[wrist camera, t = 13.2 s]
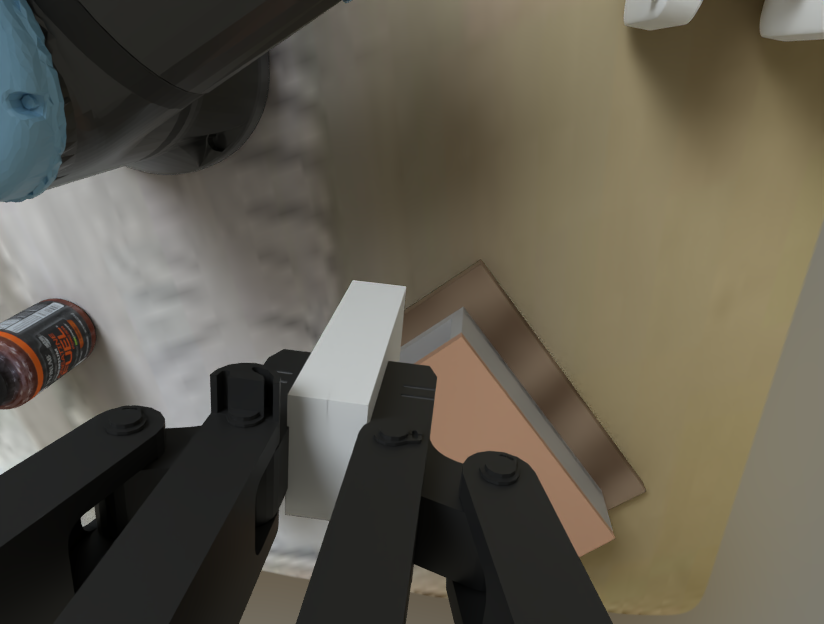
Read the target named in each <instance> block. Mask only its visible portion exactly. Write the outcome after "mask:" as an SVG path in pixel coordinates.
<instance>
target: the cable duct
mask: <svg viewBox="0 0 824 624" xmlns="http://www.w3.org/2000/svg"><path fill="white" fill-rule="evenodd" d="M461 332H462V334H463V335H464V336H465V338H466V339H467V340H468V342H469V343H470V344H471V346H472V347H473V348H474V350H475V351H476V352H477V353H478V355H479V356H480V357H481V359H482V360H483V361H484V363H485V364H486V365H487V367H488V368H489V369H490V371H491V372H492V373H493V374H494V376H495V377H496V378H497V380H498V381H499V382H500V384H501V385H502V386H503V388H504V389H505V390H506V392H507V393H508V394H509V396H510V397H511V398H512V399H513V401H514V402H515V403H516V405H517V406H518V407H519V409H520V410H521V411H522V413H523V414H524V415H525V417H526V418H527V419H528V420H529V422H530V423H531V424H532V426H533V427H534V428H535V430H536V431H537V432H538V434H539V435H540V436H541V438H542V439H543V440H544V441H545V443H546V444H547V445H548V447H549V448H550V449H551V451H552V452H553V453H554V455H555V456H556V457H557V459H558V460H559V461H560V462H561V464H562V465H563V466H564V468H565V469H566V470H567V472H568V473H569V474H570V476H571V477H572V478H573V480H574V481H575V482H576V484H577V485H578V486H579V487H580V489H581V490H582V491H583V493H584V494H585V495H586V497H587V498H588V499H589V501H590V502H591V503H592V505H593V506H594V507H595V508H596V510H597V511H598V512H599V514H600V515H601V516H602V518H603V519H604V520H605V522H606V523H607V524H608V526H609V527H610V528H611V529H612V526H611V522H610V519H609V515H608V511H607V508H606V504H605V501H604V497H603V494H602V490H601V489H600V488H599V486H598V485H597V484H596V482H595V481H594V480H593V478H592V477H591V476H590V474H589V473H588V472H587V470H586V469H585V468H584V466H583V465H582V464H581V462H580V461H579V460H578V458H577V457H576V456H575V454H574V453H573V452H572V450H571V449H570V448H569V446H568V445H567V444H566V442H565V441H564V440H563V438H562V437H561V436H560V434H559V433H558V432H557V430H556V429H555V428H554V426H553V425H552V424H551V422H550V421H549V420H548V419H547V417H546V416H545V415H544V413H543V412H542V411H541V409H540V408H539V407H538V405H537V404H536V403H535V401H534V400H533V399H532V397H531V396H530V395H529V393H528V392H527V391H526V389H525V388H524V387H523V385H522V384H521V383H520V381H519V380H518V379H517V377H516V376H515V375H514V373H513V372H512V371H511V369H510V368H509V367H508V365H507V364H506V363H505V361H504V360H503V359H502V357H501V356H500V355H499V353H498V352H497V351H496V349H495V348H494V347H493V345H492V344H491V343H490V341H489V340H488V339H487V337H486V336H485V335H484V333H483V332H482V331H481V329H480V328H479V327H478V325H477V324H476V323H475V321H474V320H473V319H472V317H471V316H470V315H469V313H468V312H467V311H466V309H465V308H464V307H462V308H460V309H459V310H457V311H456V312H454V313H452V314H451V315H449V316H448V317H446V318H445V319H443V320H442V321H440V322H439V323H437V324H435V325H434V326H432V327H431V328H429V329H428V330H426V331H425V332H423V333H422V334H420V335H418V336H417V337H415V338H414V339H412V340H411V341H409V342H408V343H406V344H405V345H403V346H401V349H400V360H399V362H402V363H410V364H414V363H416V362H417V361H419V360H420V359H422V358H423V357H425V356H426V355H428V354H429V353H431V352H432V351H434V350H435V349H437V348H438V347H440V346H441V345H443V344H444V343H446V342H448V341H449V340H451V339H452V338H454V337H455V336H457V335H458V334H460V333H461ZM612 531H613V529H612Z"/></svg>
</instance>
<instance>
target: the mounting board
mask: <svg viewBox="0 0 824 624" xmlns="http://www.w3.org/2000/svg"><path fill="white" fill-rule="evenodd" d="M462 307H464V308H465V309H466V311H467V312H468V313H469V315H470V316H471V317H472V319H473V320H474V321H475V323H476V324H477V325H478V327H479V328H480V329H481V331H482V332H483V333H484V335H485V336H486V337H487V339H488V340H489V341H490V343H491V344H492V345H493V347H494V348H495V349H496V351H497V352H498V353H499V355H500V356H501V357H502V359H503V360H504V361H505V363H506V364H507V365H508V367H509V368H510V369H511V371H512V372H513V373H514V375H515V376H516V377H517V379H518V380H519V381H520V383H521V384H522V385H523V387H524V388H525V389H526V391H527V392H528V393H529V395H530V396H531V397H532V399H533V400H534V401H535V403H536V404H537V405H538V407H539V408H540V409H541V411H542V412H543V413H544V415H545V416H546V417H547V419H548V420H549V421H550V422H551V424H552V425H553V426H554V428H555V429H556V430H557V432H558V433H559V434H560V436H561V437H562V438H563V440H564V441H565V442H566V444H567V445H568V446H569V448H570V449H571V450H572V452H573V453H574V454H575V456H576V457H577V458H578V460H579V461H580V462H581V464H582V465H583V466H584V468H585V469H586V470H587V472H588V473H589V474H590V476H591V477H592V478H593V480H594V481H595V482H596V484H597V485H598V486H599V488H600V489H601V490H602V494H603V497H604V501H605V504H606V508H607V510H609V509H611V508H613V507H615V506H618V505H620V504H622V503H624V502H626V501H628V500H630V499H632V498H634V497H636V496H638V495H640V494H642V493H644V492H646V489H645V487H644V484H643V482H642V481H641V479H640V478H639V476H638V475H637V474H636V472H635V471H634V469H633V468H632V467H631V465H630V464H629V463H628V461H627V460H626V458H625V457H624V456H623V454H622V453H621V452H620V450H619V449H618V447H617V446H616V445H615V443H614V442H613V441H612V439H611V438H610V436H609V435H608V434H607V432H606V431H605V430H604V428H603V427H602V425H601V424H600V423H599V421H598V420H597V418H596V417H595V416H594V414H593V413H592V412H591V410H590V409H589V407H588V406H587V405H586V403H585V402H584V401H583V399H582V398H581V396H580V395H579V394H578V392H577V391H576V390H575V388H574V387H573V385H572V384H571V383H570V381H569V380H568V379H567V377H566V376H565V374H564V373H563V372H562V370H561V369H560V368H559V366H558V365H557V363H556V362H555V361H554V359H553V358H552V356H551V355H550V354H549V352H548V351H547V350H546V348H545V347H544V345H543V344H542V343H541V341H540V340H539V339H538V337H537V336H536V334H535V333H534V332H533V330H532V329H531V328H530V326H529V325H528V323H527V322H526V321H525V319H524V318H523V317H522V315H521V314H520V312H519V311H518V310H517V308H516V307H515V305H514V304H513V303H512V301H511V300H510V299H509V297H508V296H507V294H506V293H505V292H504V290H503V289H502V288H501V286H500V285H499V283H498V282H497V281H496V279H495V278H494V277H493V275H492V274H491V272H490V271H489V270H488V268H487V267H486V266H485V264H484V263H483V261H482V260H479V261H478V262H476V263H475V264H473V265H472V266H470V267H469V268H467V269H466V270H464V271H463V272H461V273H460V274H458V275H457V276H455V277H454V278H452V279H451V280H449V281H448V282H446V283H445V284H443V285H442V286H440V287H439V288H437V289H436V290H434V291H433V292H431V293H430V294H428V295H427V296H425V297H424V298H422V299H421V300H419V301H418V302H416V303H415V304H413V305H412V306H410V307H409V308H407V309H406V310H404V317H403V328H402V338H401V346H403V345H405V344H406V343H408V342H409V341H411V340H412V339H414V338H415V337H417V336H418V335H420V334H422V333H423V332H425V331H426V330H428V329H429V328H431V327H432V326H434V325H435V324H437V323H439V322H440V321H442V320H443V319H445V318H446V317H448V316H449V315H451V314H452V313H454V312H456V311H457V310H459V309H460V308H462Z"/></svg>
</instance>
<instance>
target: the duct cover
mask: <svg viewBox="0 0 824 624" xmlns="http://www.w3.org/2000/svg"><path fill="white" fill-rule="evenodd" d="M414 364H418V365H426V366H430V367H431V368H432V370H433V371H434V373H435V375H436V376H437V383H436V392H435V400H434V409H433V417H432V426H431V434H430V441H431V443H432V444H433V446H434V447H435V448H436V449H437V450H438V451H439V452H440V453H441V454H443V455H444V456H446V457H448V458H450V459H452V460H455V461H457V462H460V463H464V462H465V460H466V459H467V458H468V457H469V456H471V455H473V454H475V453H477V452H485V451H497V452H505V453H508V454H511V455H513V456H516V457H518V458H520V459H522V460H523V461H525V462H526V463H528V464H529V465H530V466H531V468H532V469H533V470H534V471H535V473H536V475H537V476H538V478H539V480H540V482H541V484H542V486H543V488H544V490H545V492H546V494H547V496H548V498H549V500H550V502H551V504H552V506H553V508H554V510H555V512H556V514H557V516H558V517H559V519H560V521H561V523H562V525H563V527H564V529H565V531H566V533H567V535H568V537H569V539H570V541H571V543H572V545H573V547H574V549H575V551H576V553H577V555H578V556H579V557H581V556H583V555H585V554H586V553H588V552H590V551H592V550H594V549H596V548H598V547H600V546H602V545H604V544H606V543H608V542H610V541H611V540H613V539H615V536H614V533H613V531H612V529H611V528H610V527H609V526H608V524H607V523H606V522H605V520H604V519H603V518H602V516H601V515H600V514H599V512H598V511H597V510H596V508H595V507H594V506H593V505H592V503H591V502H590V501H589V499H588V498H587V497H586V495H585V494H584V493H583V491H582V490H581V489H580V487H579V486H578V485H577V484H576V482H575V481H574V480H573V478H572V477H571V476H570V474H569V473H568V472H567V470H566V469H565V468H564V466H563V465H562V464H561V462H560V461H559V460H558V459H557V457H556V456H555V455H554V453H553V452H552V451H551V449H550V448H549V447H548V445H547V444H546V443H545V441H544V440H543V439H542V438H541V436H540V435H539V434H538V432H537V431H536V430H535V428H534V427H533V426H532V424H531V423H530V422H529V420H528V419H527V418H526V417H525V415H524V414H523V413H522V411H521V410H520V409H519V407H518V406H517V405H516V403H515V402H514V401H513V399H512V398H511V397H510V396H509V394H508V393H507V392H506V390H505V389H504V388H503V386H502V385H501V384H500V382H499V381H498V380H497V378H496V377H495V376H494V374H493V373H492V372H491V371H490V369H489V368H488V367H487V365H486V364H485V363H484V361H483V360H482V359H481V357H480V356H479V355H478V353H477V352H476V351H475V350H474V348H473V347H472V346H471V344H470V343H469V342H468V340H467V339H466V338H465V336H464V335H463V334H462V332H461V333H460V334H458V335H457V336H455V337H454V338H452V339H451V340H449V341H448V342H446V343H444V344H443V345H441V346H440V347H438V348H437V349H435V350H434V351H432V352H431V353H429V354H428V355H426V356H425V357H423V358H422V359H420V360H419V361H417V362H416V363H414Z"/></svg>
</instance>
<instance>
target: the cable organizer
mask: <svg viewBox="0 0 824 624" xmlns="http://www.w3.org/2000/svg"><path fill="white" fill-rule="evenodd" d="M702 2H703V0H626V3H625V9H624V24H625V26H629V27H634V28H639V29H644V30H649V31H650V30H656V29H662V28H668V27H675V26H681V25H686V24H688V23H689V22H690V21H691V20H692V18H693V17H694V16H695V14H696V13H697V11H698V9H699V7H700V6H701V4H702ZM759 30H760V34H761V36H762V37H764V38H770V39H775V40H780V41H803V40H820V39H824V0H765V2H764V5H763V8H762V12H761V17H760V25H759Z"/></svg>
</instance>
